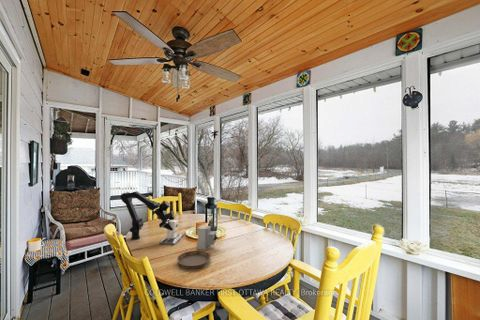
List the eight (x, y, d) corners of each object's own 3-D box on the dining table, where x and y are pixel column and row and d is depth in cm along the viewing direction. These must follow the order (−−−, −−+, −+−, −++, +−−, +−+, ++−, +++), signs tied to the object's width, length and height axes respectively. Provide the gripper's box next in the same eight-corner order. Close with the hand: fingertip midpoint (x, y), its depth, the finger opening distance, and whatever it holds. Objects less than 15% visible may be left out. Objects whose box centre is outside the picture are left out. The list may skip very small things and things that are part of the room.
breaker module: (166, 237, 172) (167, 221, 173) (170, 235, 178) (171, 219, 179) (175, 238, 171) (176, 222, 172) (178, 236, 178) (179, 220, 178)
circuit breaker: (215, 250, 154) (215, 229, 155) (196, 248, 157) (197, 228, 158) (218, 246, 162) (218, 226, 162) (200, 245, 165) (200, 225, 165)
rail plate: (159, 244, 165) (159, 241, 165) (170, 235, 185) (170, 232, 185) (174, 244, 164) (174, 241, 164) (183, 236, 184) (183, 233, 184)
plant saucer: (212, 268, 129) (212, 262, 129) (177, 272, 123) (177, 266, 123) (208, 254, 149) (208, 249, 149) (177, 257, 143) (177, 252, 143)
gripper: (163, 210, 166) (176, 225, 165) (172, 205, 185) (184, 219, 184) (153, 220, 167) (166, 235, 166) (163, 214, 185) (175, 228, 184)
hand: (174, 228), depth 175 cm, fingers closed on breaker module, 7 cm apart
